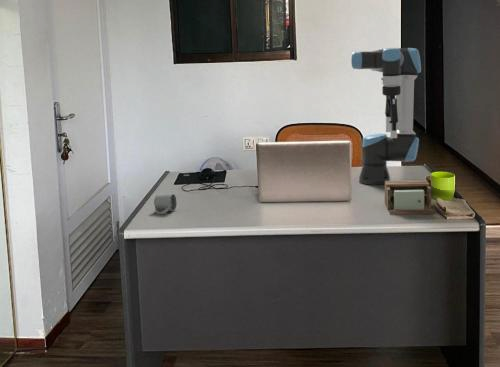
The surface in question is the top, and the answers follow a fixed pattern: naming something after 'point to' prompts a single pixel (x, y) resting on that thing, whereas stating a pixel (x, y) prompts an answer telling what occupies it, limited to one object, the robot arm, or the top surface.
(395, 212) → the cabinet
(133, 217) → the top surface
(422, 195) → the pale green box
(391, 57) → the robot arm
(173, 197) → the ceramic mug
